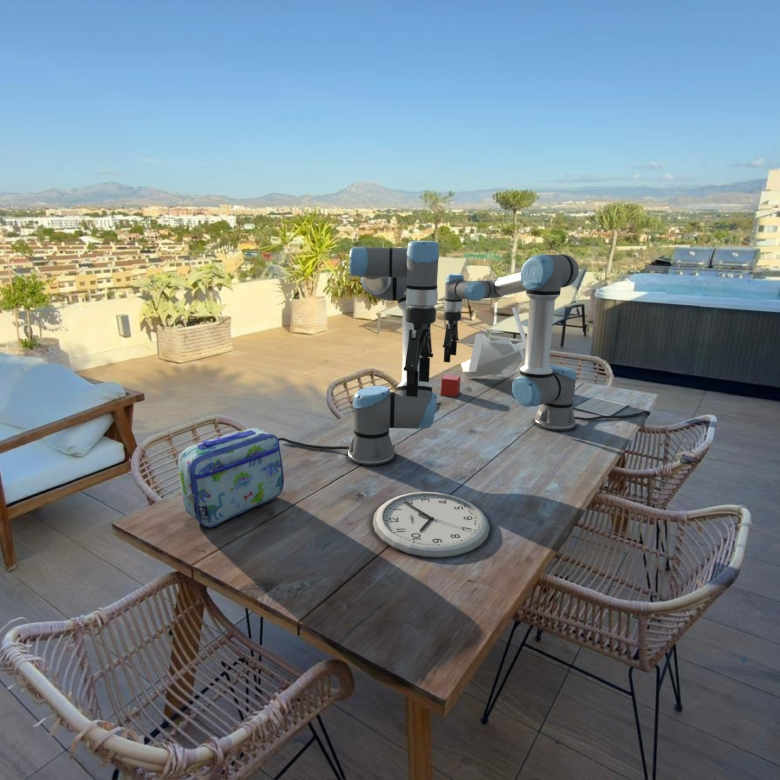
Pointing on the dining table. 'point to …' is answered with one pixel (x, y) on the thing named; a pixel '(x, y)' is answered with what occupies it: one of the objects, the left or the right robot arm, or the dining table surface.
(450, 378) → the brick
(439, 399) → the fork
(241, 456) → the lunch box
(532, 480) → the dining table surface
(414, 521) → the wall clock
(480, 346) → the white plastic object
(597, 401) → the invitation card
